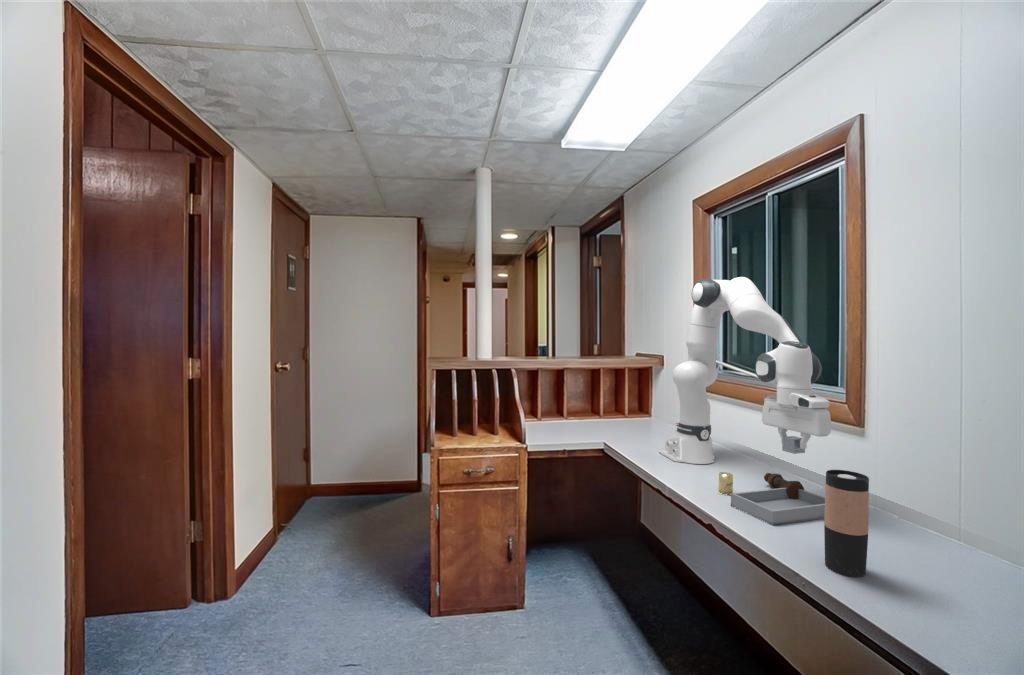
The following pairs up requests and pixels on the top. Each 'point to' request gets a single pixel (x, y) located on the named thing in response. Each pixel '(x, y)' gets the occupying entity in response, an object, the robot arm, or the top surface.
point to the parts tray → (780, 505)
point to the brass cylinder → (725, 483)
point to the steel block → (791, 444)
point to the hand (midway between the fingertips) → (793, 446)
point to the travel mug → (846, 522)
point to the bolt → (784, 484)
